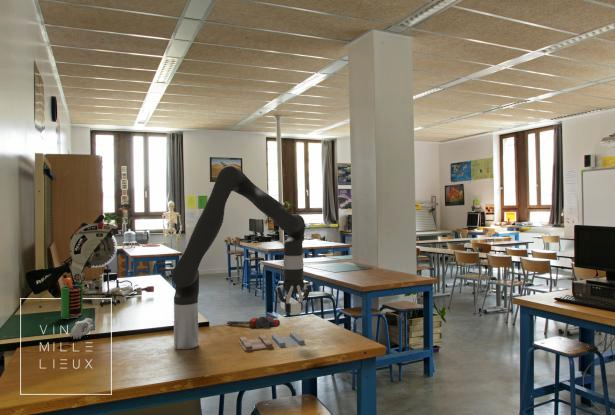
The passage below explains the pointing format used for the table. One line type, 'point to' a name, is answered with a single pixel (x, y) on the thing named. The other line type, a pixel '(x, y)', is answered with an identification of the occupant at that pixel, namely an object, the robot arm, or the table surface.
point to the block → (293, 306)
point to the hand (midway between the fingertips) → (293, 312)
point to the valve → (258, 322)
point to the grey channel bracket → (288, 340)
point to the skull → (81, 328)
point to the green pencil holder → (71, 299)
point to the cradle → (255, 343)
